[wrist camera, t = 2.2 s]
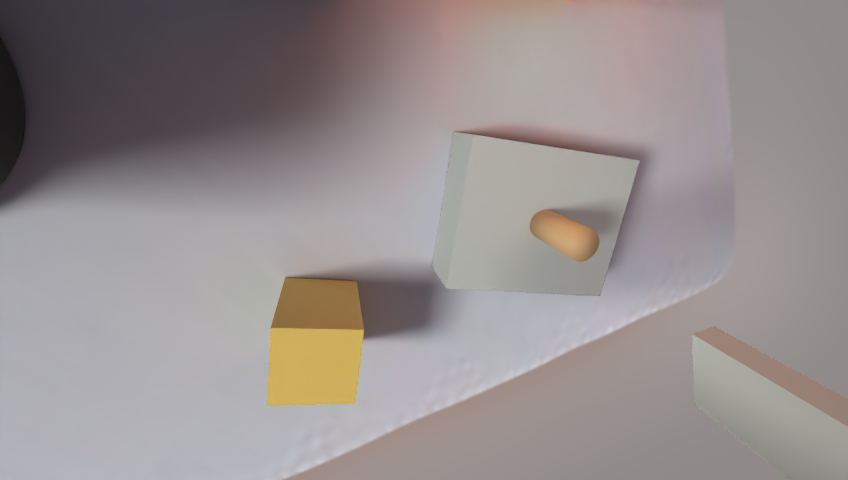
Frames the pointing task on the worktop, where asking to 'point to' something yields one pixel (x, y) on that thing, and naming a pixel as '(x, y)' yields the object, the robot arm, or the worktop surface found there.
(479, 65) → the worktop surface
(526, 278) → the toggle switch box
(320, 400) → the yellow rectangular block
